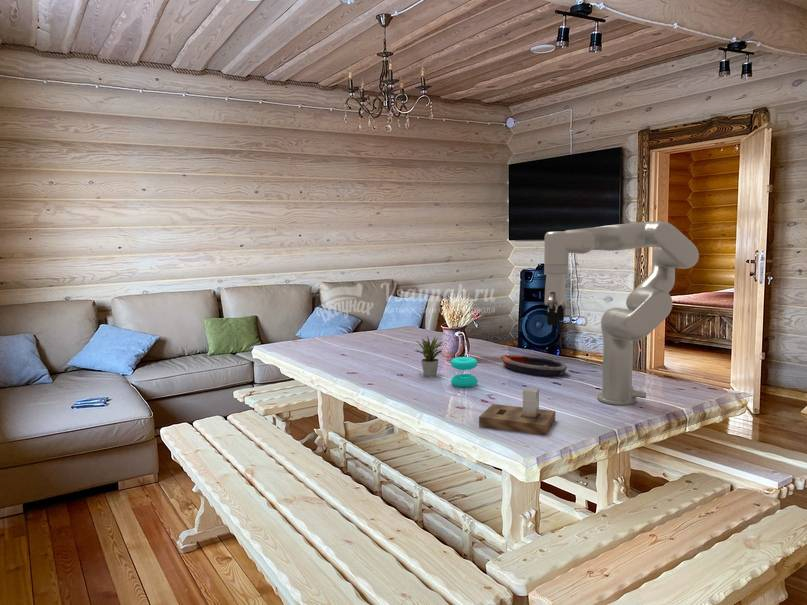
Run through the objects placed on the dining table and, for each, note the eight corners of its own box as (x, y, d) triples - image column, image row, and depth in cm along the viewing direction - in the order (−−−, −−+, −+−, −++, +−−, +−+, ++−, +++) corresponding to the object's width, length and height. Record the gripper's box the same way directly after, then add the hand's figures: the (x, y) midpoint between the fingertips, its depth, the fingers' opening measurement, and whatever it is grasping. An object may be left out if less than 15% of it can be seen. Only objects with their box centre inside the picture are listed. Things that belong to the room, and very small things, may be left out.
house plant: (445, 380, 235) (445, 339, 232) (411, 379, 237) (410, 339, 235) (450, 371, 248) (449, 333, 246) (417, 370, 251) (416, 332, 249)
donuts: (481, 360, 223) (455, 362, 221) (481, 387, 225) (456, 389, 222) (471, 355, 233) (447, 357, 231) (472, 380, 234) (447, 382, 232)
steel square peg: (538, 423, 183) (539, 388, 181) (535, 427, 179) (536, 392, 178) (525, 422, 184) (526, 387, 183) (522, 426, 181) (522, 390, 179)
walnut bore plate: (555, 420, 185) (555, 410, 185) (545, 435, 173) (545, 425, 172) (492, 412, 194) (492, 403, 194) (479, 426, 181) (478, 416, 181)
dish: (552, 381, 232) (553, 368, 231) (492, 368, 255) (492, 356, 254) (575, 374, 242) (576, 362, 241) (515, 361, 265) (515, 350, 264)
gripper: (550, 267, 203) (549, 317, 205) (538, 272, 187) (538, 326, 189) (572, 268, 199) (572, 319, 202) (563, 272, 184) (562, 327, 186)
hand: (555, 322), depth 196 cm, fingers open, 9 cm apart
